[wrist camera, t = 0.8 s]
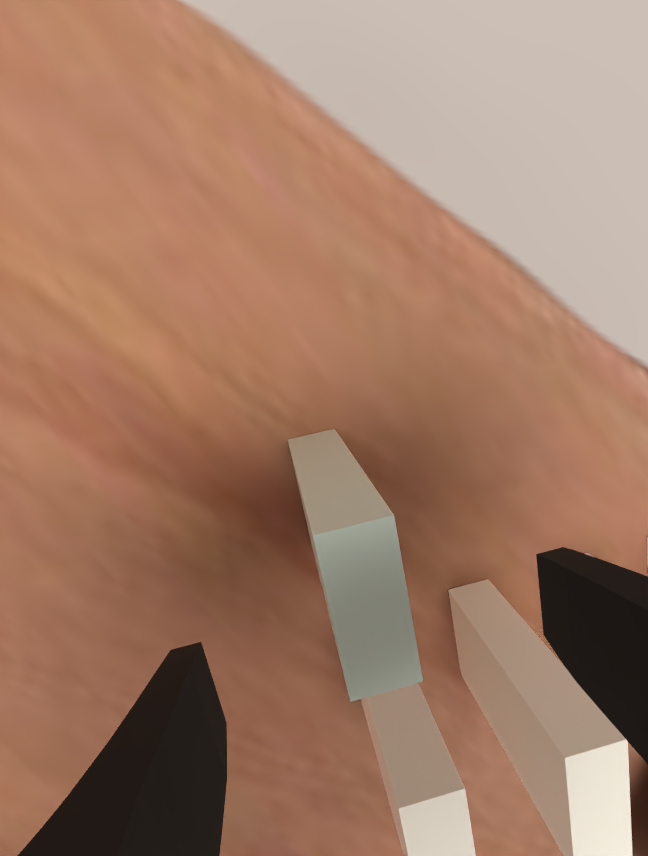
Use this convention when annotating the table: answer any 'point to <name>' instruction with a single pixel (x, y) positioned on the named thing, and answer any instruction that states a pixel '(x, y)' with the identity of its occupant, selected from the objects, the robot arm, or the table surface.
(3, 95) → the table surface
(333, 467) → the domino
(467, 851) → the domino
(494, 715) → the domino
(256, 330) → the table surface
